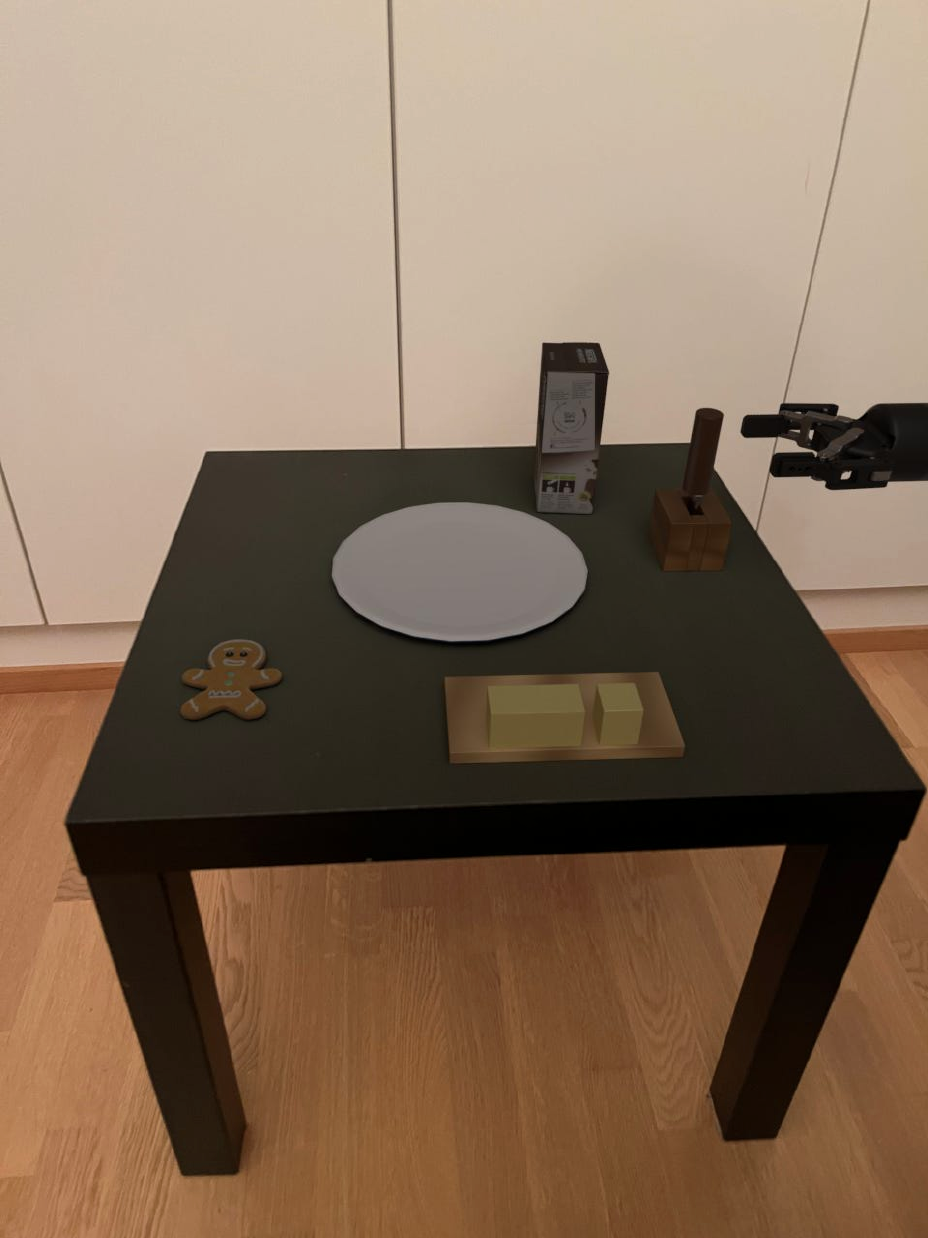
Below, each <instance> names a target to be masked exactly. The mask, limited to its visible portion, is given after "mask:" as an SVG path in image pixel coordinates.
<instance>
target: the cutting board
mask: <svg viewBox="0 0 928 1238" xmlns="http://www.w3.org/2000/svg"><path fill="white" fill-rule="evenodd" d="M443 682H444V683H443V689H444V702H445V705H444V706H445V719H446V730H447V731H446V735H447V746H448V748H447V749H448V763H449V764H450V765H453V764H454V765H455V764H456V765H457V764H488V763H520V762H521V763H524V762H555V761H557V762H559V761H561V762H562V761H563V762H564V761H593V760H594V761H595V760H627V759H628V760H630V759H631V760H632V759H664V758H665V759H666V758H683V757H684V753H685V748H686V745H685V741H684V739H683V736H682V733H681V730H680V728H679V725H678V722H677V719H676V717H675V713H674V711H673V708H672V706H671V702H670V700H669V697H668V695H667V691H666V689H665V686H664V684H663V681H662V677H661V675H660V671H645V672H643V671H642V672H638V671H637V672H602V673H597V672H596V673H594V672H593V673H559V674H557V673H554V674H515V675H513V674H512V675H511V674H510V675H472V676H444V680H443ZM606 683H635V685H636V688H637V691H638V694H639V697H640V700H641V703H642V706H643V710H644V711H643V717H642V722H641V728H640V734H639V740H638V744H619V745H599V742H598V738H597V734H596V730H595V726H594V722H593V718H592V716H593V709H594V701H595V693H596V686H597V684H606ZM557 684H578V685H579V689H580V693H581V697H582V701H583V705H584V709H585V716H584V724H583V732H582V740H581V746H556V747H520V748H489V743H488V734H487V726H486V706H487V687H488V686H515V685H557Z"/></svg>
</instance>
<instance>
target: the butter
mask: <svg viewBox="0 0 928 1238" xmlns="http://www.w3.org/2000/svg"><path fill="white" fill-rule="evenodd" d="M584 716H585V709H584V705H583V701H582V697H581V693H580V689H579V685H578V684H557V685H515V686H488V687H487V706H486V726H487V734H488V743H489V748H520V747H556V746H581V740H582V732H583V724H584Z"/></svg>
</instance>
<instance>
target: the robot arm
mask: <svg viewBox="0 0 928 1238" xmlns="http://www.w3.org/2000/svg"><path fill="white" fill-rule="evenodd" d="M839 409H840V406H839V405H838V404H836V403H820V402H819V403H816V402H815V403H812V402H811V403H810V402H809V403H807V402H806V403H805V402H782V403H780V405H779V409H778V412H777V413H771V414H770V413H769V414H768V413H767V414H766V413H764V414H761V413H760V414H745V415H744V416H743V418H742V421H741V425H740V426H741V427H740V434H741V436H742V437H743V439H770V438H774V439H775V438H781V439H786V440H790V441H793V442H795V444H796V445H797V446H798V447H799V448H802V449H806V450H810V451H788V452H786V451H785V452H783V451H782V452H775V453H774V454H773V455H772V457H771V461H770V464H769V470H768V472H769V473H770V474H771V476H772V477H773V478H810V479H811V480H813V481H816V482H824V483H825V484H824V488H825V489H827V490H829V491H847V490H866V489H868V490H869V489H885V488H887V487H888V483H899V482H900V483H903V482H928V402H894V403H893V402H885V403H883V402H882V403H881V402H880V403H876V404H873V405H872V406H870V407H869V408H868V409H867V410H866V411H865V413H863V414H862V415H861V416H860V417H858V418H852V417H850V416H845V415H840V414H839V415H838V412H839ZM811 431H813V432H812V436H811V437H810V433H811ZM813 451H814V452H815V453H816V454H815V453H814V452H813ZM845 473H850V475H849V477H847V478H842V476H843V474H845Z"/></svg>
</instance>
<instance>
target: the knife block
mask: <svg viewBox="0 0 928 1238" xmlns="http://www.w3.org/2000/svg"><path fill="white" fill-rule="evenodd" d="M688 499H689V493H686V492H685V491H684V490H683V488H668V489H667V488H666V489H664V488H663V489H661V488H660V489H656V488H655V490H654V496H653V501H652V507H651V515H650V521H649V528H648V534H647V537H648V538H649V541H650V543H651V546H652V548H653V550H654V552H655V555H656V558H657V560H658V563H659V565H660V566H661V567H660V568H661V569H662V572H699V571H700V572H709V571H710V572H712V571H713V572H714V571H716V572H717V571H719V572H720V571H723V569H724V565H725V560H726V554H727V550H728V545H729V540H730V535H731V530H732V527H733V522H732V520H731V517H730V516H729V514H728V513H727V511H726V509H725V507H724V506H723V504H722V502H721V500H720V499H719V497H718V495H717V494H716V492H715V490H714V489H713V488H710V490H709V492H708V493H707V494H705V495H703V498H702V501H699V505H698V510H697V515H690V513H689V512H688V510H687V505H688Z"/></svg>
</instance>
